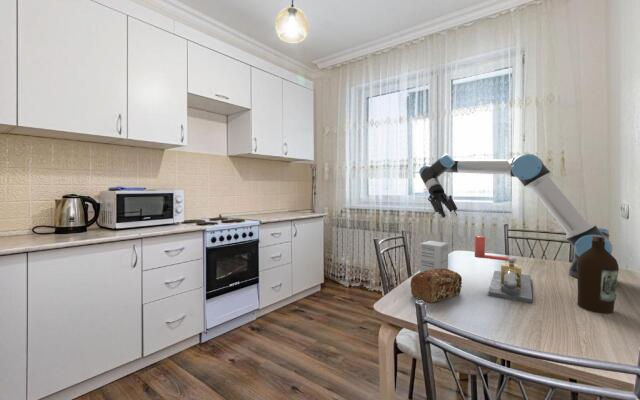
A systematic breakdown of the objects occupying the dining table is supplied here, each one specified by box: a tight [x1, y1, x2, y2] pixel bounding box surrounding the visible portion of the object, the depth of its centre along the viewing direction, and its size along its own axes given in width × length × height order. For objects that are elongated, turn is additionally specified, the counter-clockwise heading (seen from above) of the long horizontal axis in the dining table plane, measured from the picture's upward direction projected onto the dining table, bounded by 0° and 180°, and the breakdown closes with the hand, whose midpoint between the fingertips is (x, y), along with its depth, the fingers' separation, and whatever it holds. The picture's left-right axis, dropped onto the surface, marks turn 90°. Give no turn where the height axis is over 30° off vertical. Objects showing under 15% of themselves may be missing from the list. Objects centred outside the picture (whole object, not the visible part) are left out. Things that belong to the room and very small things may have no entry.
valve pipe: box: [487, 261, 533, 304], centre depth 128 cm, size 34×14×11 cm, turn 146°
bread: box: [410, 268, 463, 304], centre depth 119 cm, size 19×11×10 cm, turn 122°
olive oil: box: [577, 236, 620, 314], centre depth 106 cm, size 11×11×25 cm
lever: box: [474, 235, 517, 263], centre depth 131 cm, size 16×4×9 cm, turn 57°
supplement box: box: [419, 240, 449, 272], centre depth 137 cm, size 10×9×17 cm
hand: (452, 221), depth 153 cm, fingers open, 4 cm apart
